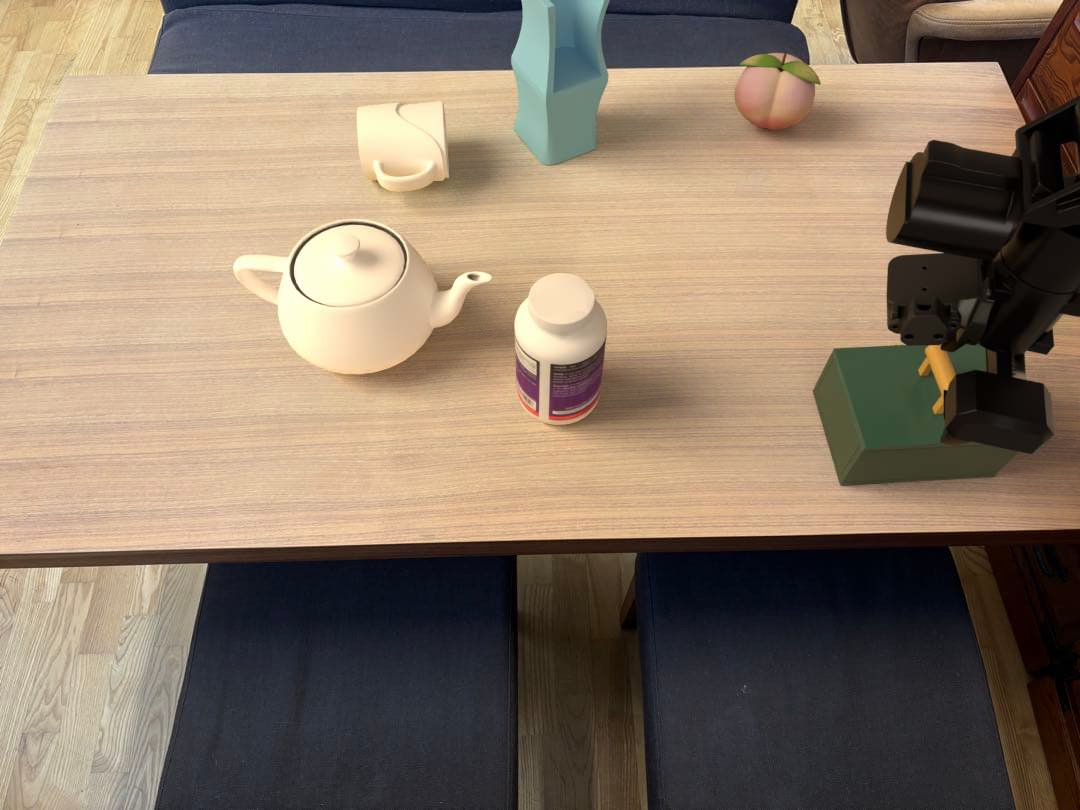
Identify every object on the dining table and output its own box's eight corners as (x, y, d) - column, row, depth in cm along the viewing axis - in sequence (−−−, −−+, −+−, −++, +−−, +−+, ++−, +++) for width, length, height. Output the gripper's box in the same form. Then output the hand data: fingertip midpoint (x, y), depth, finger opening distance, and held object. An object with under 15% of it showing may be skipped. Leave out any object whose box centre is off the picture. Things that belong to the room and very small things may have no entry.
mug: (368, 143, 101) (357, 86, 95) (447, 139, 102) (441, 82, 95) (367, 215, 95) (354, 159, 88) (451, 211, 95) (445, 154, 89)
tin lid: (993, 344, 78) (1017, 313, 74) (1037, 442, 72) (1065, 413, 69) (831, 352, 77) (846, 321, 73) (862, 451, 72) (881, 423, 68)
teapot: (229, 376, 83) (187, 294, 72) (277, 258, 91) (245, 170, 81) (482, 406, 81) (475, 326, 71) (507, 283, 90) (504, 196, 79)
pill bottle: (609, 373, 83) (623, 275, 71) (585, 439, 79) (595, 347, 67) (532, 351, 85) (532, 251, 73) (504, 415, 81) (499, 320, 68)
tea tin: (956, 383, 83) (985, 345, 78) (994, 477, 78) (1027, 442, 72) (812, 390, 82) (831, 353, 77) (839, 485, 77) (862, 451, 72)
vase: (544, 168, 99) (547, 8, 82) (512, 129, 103) (509, -32, 86) (602, 146, 101) (616, -14, 85) (568, 109, 105) (576, -52, 88)
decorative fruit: (806, 110, 105) (830, 37, 97) (800, 154, 101) (824, 81, 93) (731, 97, 107) (748, 24, 98) (721, 139, 102) (738, 66, 94)
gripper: (920, 144, 61) (850, 288, 74) (915, 346, 51) (836, 471, 64) (1084, 172, 59) (983, 314, 72) (1112, 386, 49) (990, 505, 62)
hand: (946, 394), depth 68 cm, fingers open, 9 cm apart
